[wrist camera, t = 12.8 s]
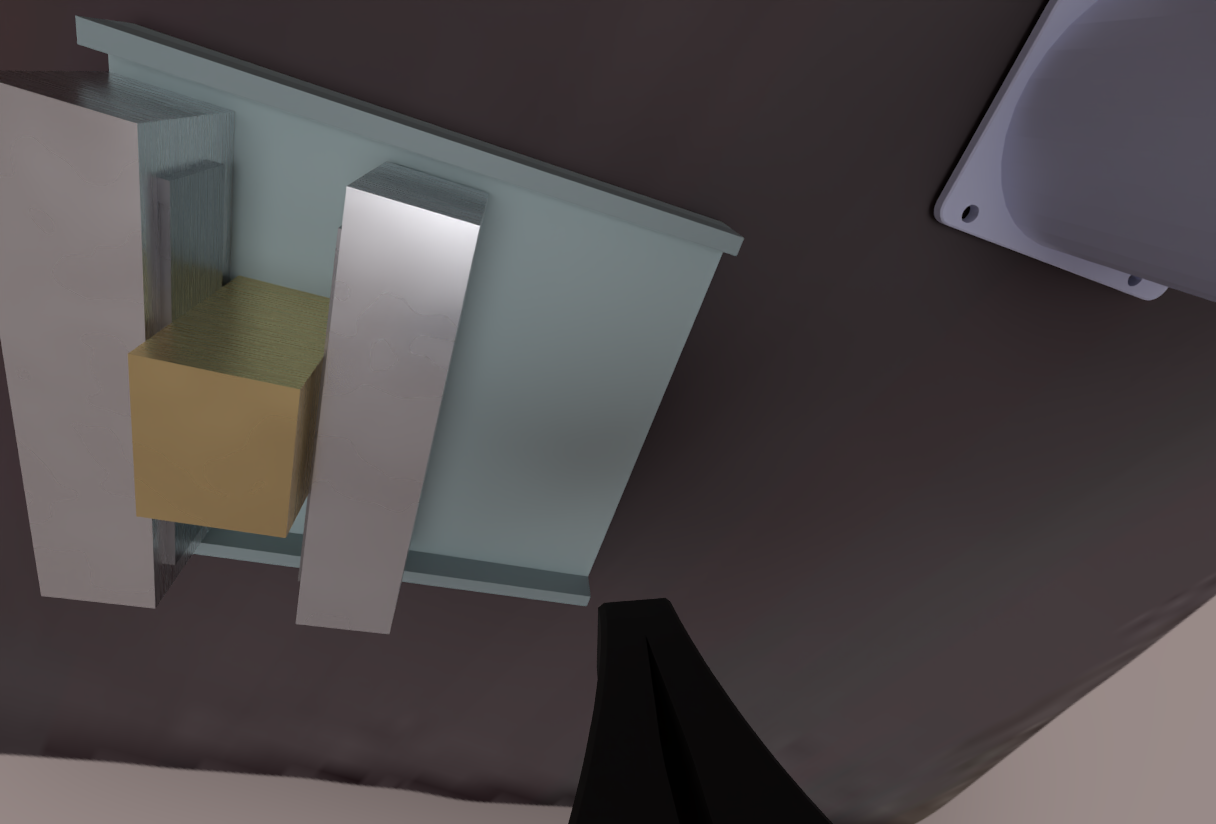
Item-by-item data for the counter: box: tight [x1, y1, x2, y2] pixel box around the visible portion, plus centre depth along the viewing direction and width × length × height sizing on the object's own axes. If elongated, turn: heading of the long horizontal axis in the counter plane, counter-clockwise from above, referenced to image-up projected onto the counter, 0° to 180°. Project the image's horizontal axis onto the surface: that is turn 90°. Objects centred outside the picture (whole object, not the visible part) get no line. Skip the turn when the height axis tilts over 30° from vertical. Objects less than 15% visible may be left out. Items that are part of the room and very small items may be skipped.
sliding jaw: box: [296, 161, 489, 634], centre depth 15 cm, size 3×12×4 cm, turn 162°
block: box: [128, 276, 330, 538], centre depth 14 cm, size 3×4×5 cm
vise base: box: [75, 16, 744, 606], centre depth 17 cm, size 15×14×2 cm
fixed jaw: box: [0, 70, 235, 608], centre depth 14 cm, size 3×12×4 cm, turn 162°
